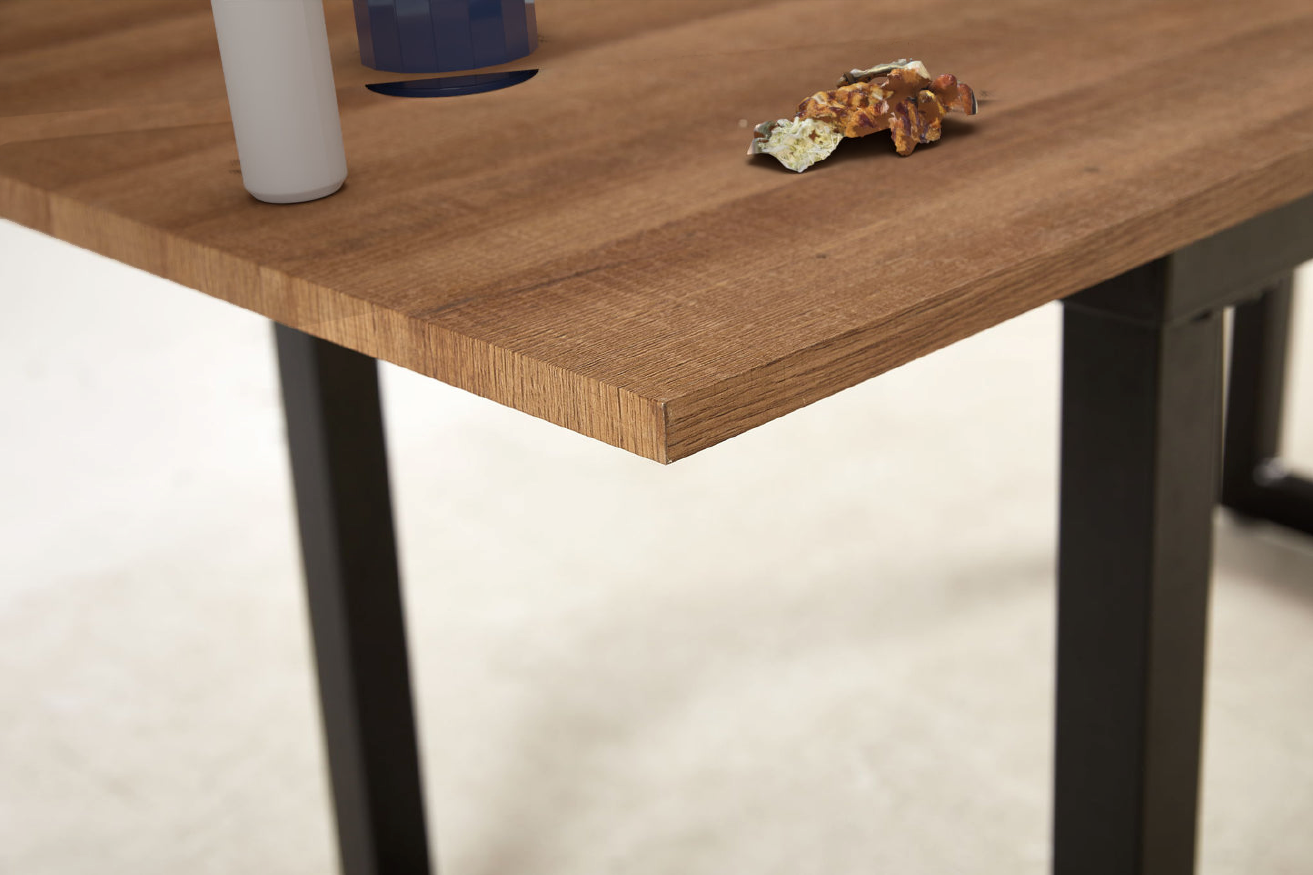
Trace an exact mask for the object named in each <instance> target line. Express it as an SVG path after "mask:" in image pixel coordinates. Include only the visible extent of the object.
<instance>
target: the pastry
mask: <svg viewBox="0 0 1313 875" xmlns="http://www.w3.org/2000/svg"><path fill="white" fill-rule="evenodd" d="M913 59H914V58H912V57H911V58H909V60H908V62H907V59H906V58H901V59H900V58H899V59H897V61H892V62H890V63H882V62H881V63H880V64H877V65H874V66H873V67H872V68H870V69H869V68H868V69H866V70H860V69H858V68H854V69H852V70H851V71H845V72H843V75H842V76H841V77H840V78H839V79H838V80H837V81H836V83H835V86H836V88H837V89H833V90H827V91H818V92H816V93H815V94H814V95H812V96H811V97H809V96H807V97H805V98H804V99H803V100H802V101H801V102H800V103H799V104H797V106H796V109H795V115H794V116H793V117H792V118H791V119H790V120H788V119H787V118H781V119H777V120H776V122H775V121H774V120H765V121H764V122H763V123H759V124H756V125H755V126H754V127H753V138H752V140H751V143H750V146H749V148H748V150H747V152H746V153H747V154H746V155H755V154H761V153H762V154H769V155H771V156H773V157H775V158H776V159H777V160H778V161H779V162H780V163H781V164H782V165H783V166H784V167H785V168H786V169H789V170H793V171H797V172H798V173H802V172H803V171H804V170H806V169H808V167H809V166H813V165H814V164H815V162H818V161H822V160H825V159H827V157H828V156H831V153H833V151H834V150H836V149H837V146H838V145H839V143H840V142H841V140H843V138H844V137H848V138H849V139H850V138H857V137H858V138H859V137H861V138H863V137H864V136H866V135H870V134H874V133H877V132H880V131H883V130H888V129H890V132H892V133H891V136H890V137H891V139H892V141H893V142H894V145H895V146H896V153H898V154H900V155H901V156H905V157H908V156H909V155H911V154H912V153H913V151H914V149H915V147H916V146H917V144H918V143H920V144H924V143H925V144H929V142H931V141H933V142H935V141H937V140H940V138H941V136H942V131H941V130H942V128H943V125H942V124H941V122H942V119H943V118H945V115H947V113H948V114H949V113H950V111H952V110H954V108H960V109H961V111H962V112H963V113H965V115H966V116H967V117H969V116H975V115H976V114H977V113H978V110H979V109H978V108H979V107H978V106H979V105H978V101H977V98H976V95H975V93H974V90H973V89H972V88H971V87H970V86H969V85H967V84H966V83H964V82H961V81H960V80H959V79H958V78H957V76H955V75H953V74H951V73H943V74H941V75H939V76H938V77H937V78H935V80H933V79H932V76H931V74H930V73H929V72H928V70H927V69H926V68H927V67H925V65H924V63H923V62H922V61H921V60H914V61H913ZM877 78H887V80H886V82H872V80H873V79H877ZM870 82H872V83H870Z"/></svg>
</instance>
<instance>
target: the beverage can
mask: <svg viewBox="0 0 1313 875" xmlns="http://www.w3.org/2000/svg"><path fill="white" fill-rule="evenodd" d="M323 4H324V3H323V0H210V5H211V10H212V16H213V22H214V26H215V32H216V39H217V43H218V47H219V49H218V50H219V54H220V59H221V60H220V61H221V65H222V71H223V72H222V73H223V77H224V83H225V88H226V94H227V99H228V104H229V110H230V116H231V121H232V127H233V132H234V138H235V143H236V150H237V154H238V160H239V165H240V171H241V176H242V182H243V187H244V189H245V190H246V191H247V192H248V193H249V194H250V195H251V196H253V197H254V198H255V199H257V201H260V202H261V201H262V202H264V203H270V204H295V203H303V202H309V201H315V200H318V199H322V198H325V197H328V196H329V195H331V194H335V193H336V192H337V191H338V190H339V189H341V187H342V185H343V183H344V182H345V180H346V178H347V177H348V174H349V172H348V166H347V165H348V164H347V159H346V152H345V146H344V138H343V132H342V126H341V119H340V112H339V105H338V99H337V92H336V85H335V79H334V72H333V65H332V57H331V52H330V45H329V37H328V31H327V25H326V18H325V10H324V5H323Z"/></svg>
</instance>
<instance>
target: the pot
mask: <svg viewBox="0 0 1313 875" xmlns="http://www.w3.org/2000/svg"><path fill="white" fill-rule="evenodd" d="M352 7H353V13H354V20H355V21H354V22H355V28H356V35H357V42H358V50H359V56H360V64H361V65H362V66H363V67H367V68H369V69H372V70H375V71H379V72H387V73H388V72H389V73H396V74H441V73H442V74H443V73H451V72H452V73H453V72H462V71H470V70H478V69H484V68H488V67H493V66H499V65H504V64H508V63H512V62H514V61H517V60H520V59H522V58H525V57H528V56H530V55H531V54H533V53H534V52H535V51H536V50H538V48H539V38H538V36H539V35H538V28H537V27H538V26H537V15H536V3H535V0H352ZM539 71H540V68H532V69H522V70H520V69H519V70H511V71H498V72H485V73H478V74H477V73H476V74H464V75H454V76H444V77H435V78H434V77H432V78H421V79H411V80H399V81H389V82H388V81H387V82H378V83H366V84H365V83H364V87H365V88H366V89H367V90H369V91H370V92H373V93H375V94H380V95H384V96H390V97H397V98H398V97H399V98H410V99H411V98H413V99H414V98H415V99H416V98H417V99H420V98H421V99H427V98H431V99H432V98H449V97H460V96H462V97H463V96H470V95H475V94H483V93H488V92H489V93H490V92H494V91H497V90H502V89H506V88H510V87H513V86H516V85H519V84H522V83H525V82H526V81H529V80H531V79H533V78H534V77H535V76H536V75H537V74H538V73H539Z"/></svg>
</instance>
